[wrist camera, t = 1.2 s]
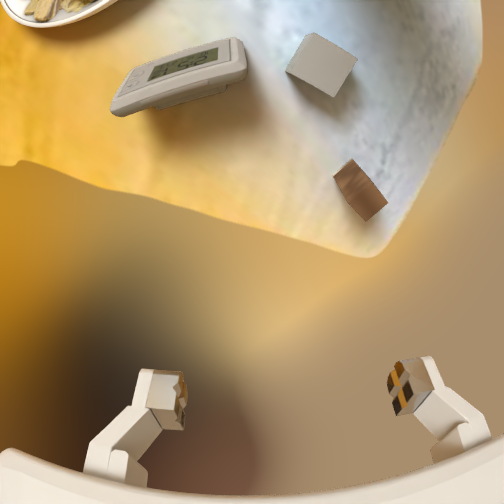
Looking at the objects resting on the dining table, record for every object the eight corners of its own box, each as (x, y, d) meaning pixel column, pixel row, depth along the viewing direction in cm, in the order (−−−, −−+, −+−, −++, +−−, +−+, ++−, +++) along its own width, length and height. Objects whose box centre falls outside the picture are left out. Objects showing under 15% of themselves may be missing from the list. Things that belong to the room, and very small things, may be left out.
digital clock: (247, 37, 33) (246, 31, 24) (249, 99, 38) (248, 114, 30) (129, 51, 33) (94, 54, 24) (135, 109, 38) (104, 128, 30)
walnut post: (351, 158, 43) (371, 182, 36) (367, 175, 45) (388, 202, 37) (332, 175, 45) (348, 203, 38) (348, 191, 46) (366, 221, 39)
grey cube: (305, 35, 32) (314, 32, 28) (344, 57, 34) (358, 59, 29) (284, 70, 36) (289, 73, 31) (323, 91, 37) (333, 97, 32)
